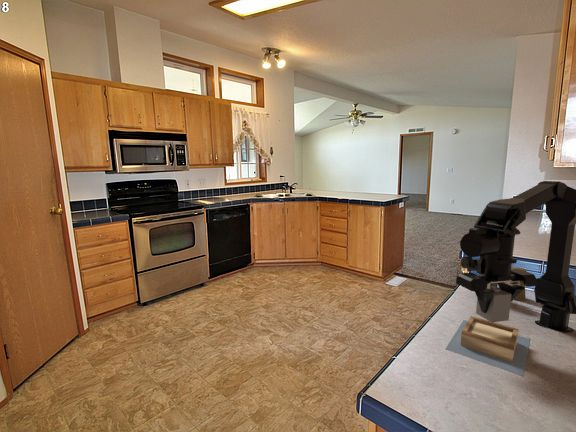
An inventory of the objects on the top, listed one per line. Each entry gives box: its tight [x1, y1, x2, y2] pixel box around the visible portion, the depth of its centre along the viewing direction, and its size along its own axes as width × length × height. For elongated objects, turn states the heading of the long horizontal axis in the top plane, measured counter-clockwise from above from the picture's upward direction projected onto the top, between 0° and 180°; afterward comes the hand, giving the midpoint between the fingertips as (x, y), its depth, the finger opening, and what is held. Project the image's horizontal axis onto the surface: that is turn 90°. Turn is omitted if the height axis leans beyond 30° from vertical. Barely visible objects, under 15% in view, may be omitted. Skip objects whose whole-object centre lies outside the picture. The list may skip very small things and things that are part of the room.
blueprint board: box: [445, 319, 531, 377], centre depth 82 cm, size 20×16×1 cm
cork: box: [511, 266, 528, 302], centre depth 112 cm, size 6×6×11 cm
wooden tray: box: [460, 316, 519, 362], centre depth 81 cm, size 11×11×4 cm
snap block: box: [475, 286, 512, 323], centre depth 80 cm, size 5×5×8 cm
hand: (492, 311), depth 80 cm, fingers closed on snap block, 5 cm apart
